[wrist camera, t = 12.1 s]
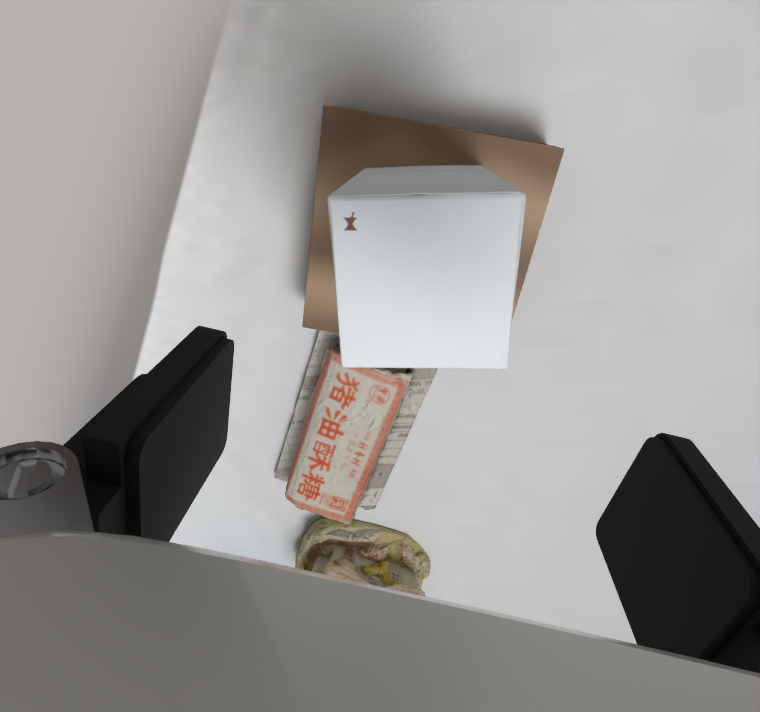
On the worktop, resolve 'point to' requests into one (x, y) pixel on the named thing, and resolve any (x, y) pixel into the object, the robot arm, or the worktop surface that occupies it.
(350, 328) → the supplement box
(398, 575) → the ceramic model
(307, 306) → the walnut block
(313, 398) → the packaged product
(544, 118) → the worktop surface
